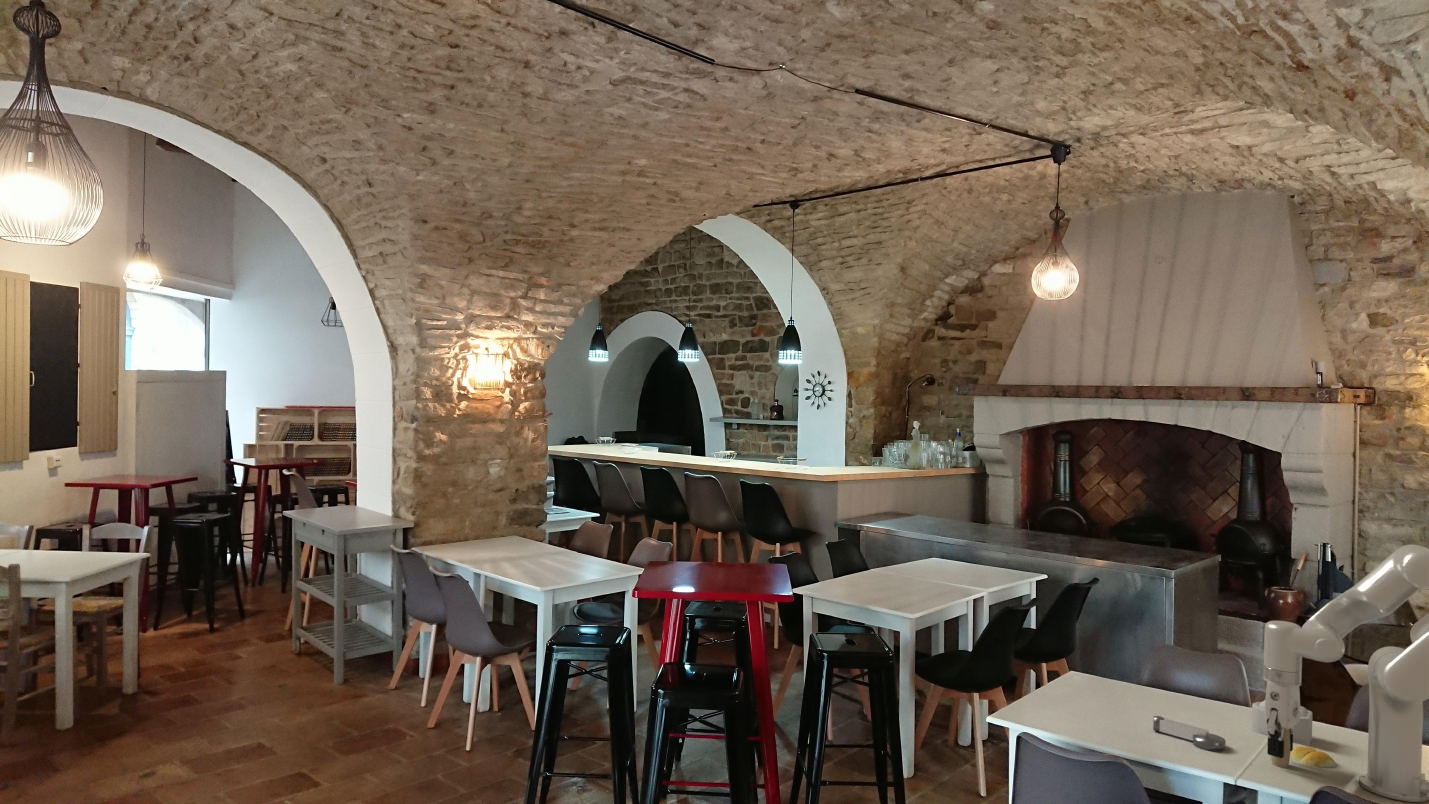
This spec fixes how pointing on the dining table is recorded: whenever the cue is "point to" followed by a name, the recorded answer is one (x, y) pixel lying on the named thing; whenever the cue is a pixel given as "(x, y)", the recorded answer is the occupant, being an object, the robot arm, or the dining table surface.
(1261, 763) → the dining table surface
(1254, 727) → the white egg tray
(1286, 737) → the handle
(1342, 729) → the dining table surface
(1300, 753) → the bread roll
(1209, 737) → the grey elongated piece
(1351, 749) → the dining table surface
